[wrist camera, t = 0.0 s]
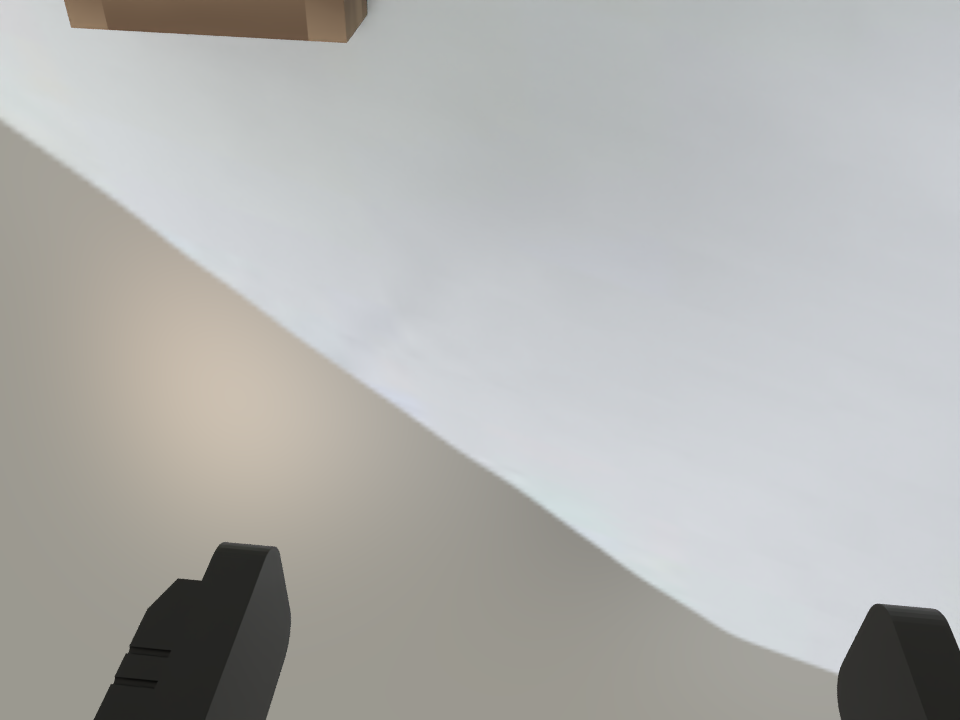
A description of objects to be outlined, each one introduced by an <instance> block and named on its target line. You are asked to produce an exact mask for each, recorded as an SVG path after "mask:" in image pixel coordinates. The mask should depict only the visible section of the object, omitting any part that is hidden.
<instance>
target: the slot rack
mask: <svg viewBox="0 0 960 720" xmlns="http://www.w3.org/2000/svg"><path fill="white" fill-rule="evenodd" d="M64 2H65V6H66V9H67V13H68V17H69V21H70V25H71V28H87V29H105V30H123V31H141V32H159V33H177V34H195V35H213V36H231V37H250V38H268V39H286V40H304V41H322V42H340V43H347V42H348V41H349V39H350V38H351V36H352V35H353V34H354V32H355V31H356V29H357V28H358V27H359V25H360V24H361V23H362V21H363V20H364V18H365V17H366V16H367V0H64Z"/></svg>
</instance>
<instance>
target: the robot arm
mask: <svg viewBox="0 0 960 720" xmlns="http://www.w3.org/2000/svg"><path fill="white" fill-rule="evenodd" d="M290 627H291V613H290V607H289V601H288V595H287V590H286V585H285V579H284V574H283V568H282V563H281V558H280V553H279V550H278V549H277V547H273V546H262V545H251V544H239V543H229V542H223V543H221V544H220V545H219V546H218V547H217V549H216V551H215V552H214V554H213V556H212V559H211V561H210V563H209V566H208V568H207V570H206V572H205V575H204V577H203V579H202V581H198V580H188V579H177V580H176V581H175V582H174V583H173V584H172V585H171V586H170V587H169V588H168V589H167V590H166V591H165V592H164V593H163V594H162V595H161V596H160V597H159V598H158V599H157V600H156V601H155V602H154V603H153V604H152V605H151V606H150V607H149V608H148V609H147V611H146V613H145V615H144V617H143V619H142V621H141V623H140V625H139V627H138V630H137V632H136V634H135V636H134V638H133V640H132V642H131V644H130V650H129V653H128V654H126V655H125V657H124V658H123V660H122V662H121V665H120V667H119V669H118V671H117V673H116V675H115V681H114V684H111V685H110V687H109V689H108V691H107V693H106V695H105V698H104V700H103V702H102V704H101V706H100V708H99V710H98V712H97V714H96V716H95V718H94V720H266V717H267V714H268V711H269V708H270V704H271V701H272V698H273V695H274V691H275V688H276V685H277V682H278V679H279V676H280V672H281V669H282V666H283V663H284V660H285V656H286V652H287V648H288V643H289V637H290ZM837 696H838V697H837V698H838V707H839V712H840V716H841V720H960V650H959V648H958V645H957V643H956V640H955V638H954V636H953V633H952V631H951V628H950V626H949V624H948V622H947V620H946V618H945V617H944V615H943V614H942V613H941V612H939V611H938V610H936V609H931V608H920V607H909V606H898V605H887V604H875V605H873V606H872V607H871V608H870V610H869V612H868V614H867V615H866V617H865V619H864V621H863V623H862V625H861V627H860V629H859V631H858V633H857V635H856V637H855V639H854V641H853V643H852V645H851V647H850V649H849V651H848V653H847V655H846V657H845V659H844V661H843V663H842V665H841V667H840V671H839V675H838V684H837Z"/></svg>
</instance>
